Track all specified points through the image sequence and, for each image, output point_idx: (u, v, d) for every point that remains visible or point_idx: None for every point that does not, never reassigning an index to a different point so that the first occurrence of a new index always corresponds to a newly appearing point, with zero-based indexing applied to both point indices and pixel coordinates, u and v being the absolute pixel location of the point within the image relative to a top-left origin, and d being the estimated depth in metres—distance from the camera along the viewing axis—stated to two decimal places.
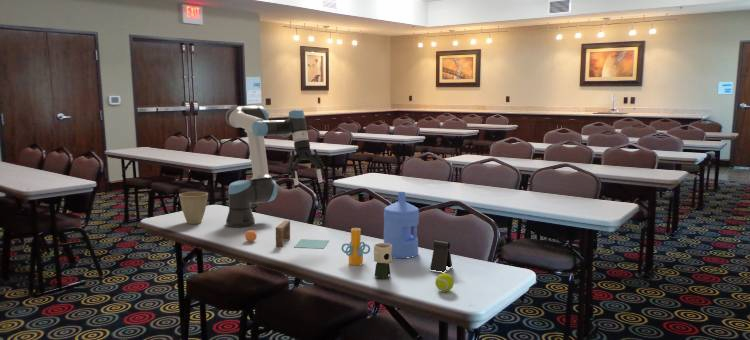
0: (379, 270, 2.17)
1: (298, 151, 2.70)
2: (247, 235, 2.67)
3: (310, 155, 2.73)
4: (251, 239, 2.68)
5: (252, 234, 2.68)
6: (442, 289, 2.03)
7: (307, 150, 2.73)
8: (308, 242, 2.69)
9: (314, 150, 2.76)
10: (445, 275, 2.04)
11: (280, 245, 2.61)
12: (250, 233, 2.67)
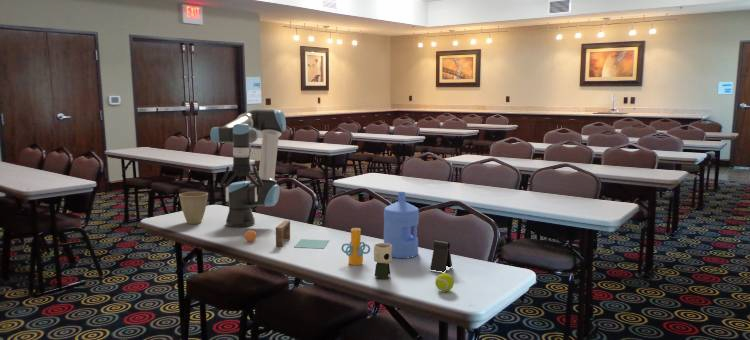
0: (379, 270, 2.17)
1: (234, 167, 2.64)
2: (247, 235, 2.67)
3: (246, 173, 2.64)
4: (251, 239, 2.68)
5: (252, 234, 2.68)
6: (442, 289, 2.03)
7: (245, 167, 2.64)
8: (308, 242, 2.69)
9: (253, 168, 2.64)
10: (445, 275, 2.04)
11: (280, 245, 2.61)
12: (250, 233, 2.67)
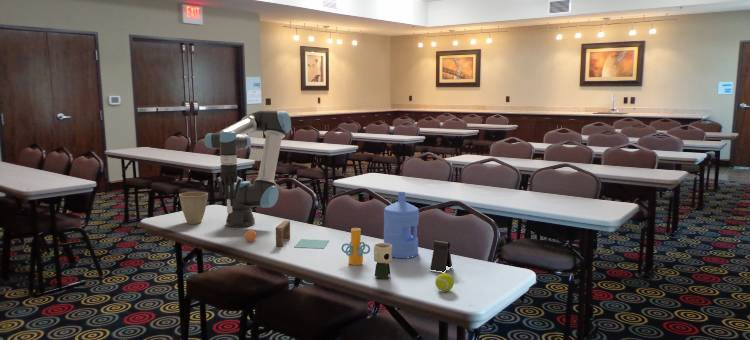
0: (379, 270, 2.17)
1: (220, 175, 2.66)
2: (247, 235, 2.67)
3: (230, 181, 2.65)
4: (251, 239, 2.68)
5: (252, 234, 2.68)
6: (442, 289, 2.03)
7: (233, 173, 2.65)
8: (308, 242, 2.69)
9: (239, 179, 2.65)
10: (445, 275, 2.04)
11: (280, 245, 2.61)
12: (250, 233, 2.67)
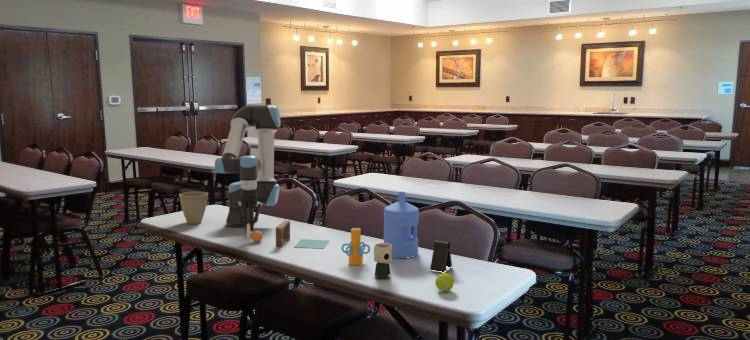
0: (379, 270, 2.17)
1: (241, 200, 2.66)
2: (255, 235, 2.67)
3: (250, 206, 2.65)
4: (255, 240, 2.67)
5: (259, 238, 2.67)
6: (442, 289, 2.03)
7: (253, 198, 2.65)
8: (308, 242, 2.69)
9: (259, 204, 2.65)
10: (445, 275, 2.04)
11: (280, 245, 2.61)
12: (259, 236, 2.67)
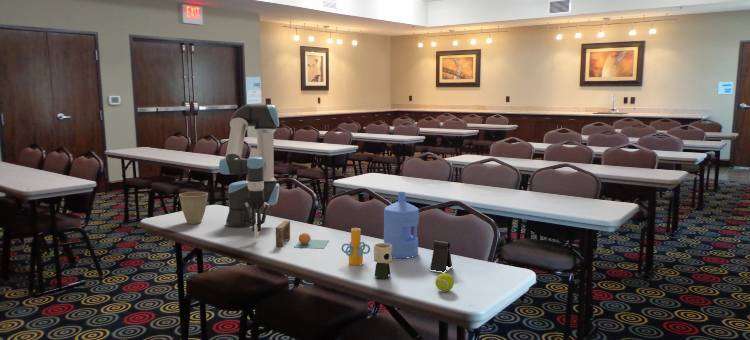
0: (379, 270, 2.17)
1: (248, 201, 2.66)
2: (304, 241, 2.64)
3: (258, 207, 2.65)
4: (300, 237, 2.64)
5: (300, 242, 2.65)
6: (442, 289, 2.03)
7: (260, 199, 2.65)
8: None
9: (266, 205, 2.65)
10: (445, 275, 2.04)
11: (280, 245, 2.61)
12: (302, 243, 2.64)
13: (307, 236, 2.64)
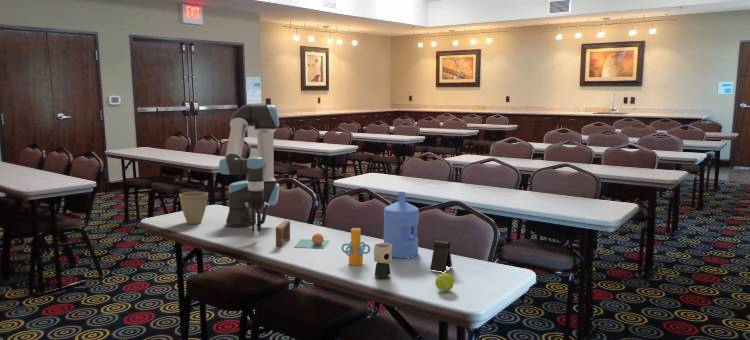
0: (379, 270, 2.17)
1: (248, 201, 2.66)
2: (314, 240, 2.63)
3: (258, 207, 2.65)
4: (320, 240, 2.63)
5: (317, 236, 2.63)
6: (442, 289, 2.03)
7: (260, 199, 2.65)
8: (308, 242, 2.69)
9: (266, 205, 2.65)
10: (445, 275, 2.04)
11: (280, 245, 2.61)
12: (315, 236, 2.63)
13: (316, 244, 2.64)
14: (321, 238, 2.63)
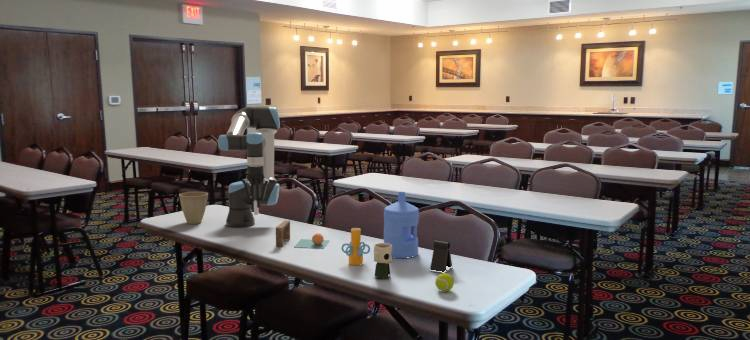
0: (379, 270, 2.17)
1: (247, 177, 2.65)
2: (314, 240, 2.63)
3: (257, 183, 2.64)
4: (320, 240, 2.63)
5: (317, 236, 2.63)
6: (442, 289, 2.03)
7: (260, 175, 2.64)
8: (308, 242, 2.69)
9: (266, 181, 2.64)
10: (445, 275, 2.04)
11: (280, 245, 2.61)
12: (315, 236, 2.63)
13: (316, 244, 2.64)
14: (321, 238, 2.63)
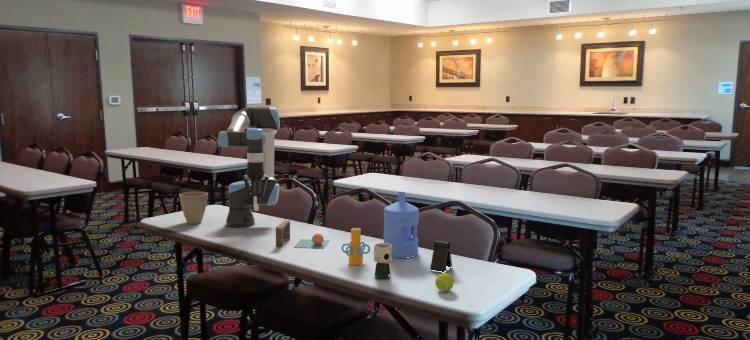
0: (379, 270, 2.17)
1: (247, 173, 2.64)
2: (314, 240, 2.63)
3: (257, 179, 2.64)
4: (320, 240, 2.63)
5: (317, 236, 2.63)
6: (442, 289, 2.03)
7: (260, 171, 2.63)
8: (308, 242, 2.69)
9: (266, 177, 2.63)
10: (445, 275, 2.04)
11: (280, 245, 2.61)
12: (315, 236, 2.63)
13: (316, 244, 2.64)
14: (321, 238, 2.63)
